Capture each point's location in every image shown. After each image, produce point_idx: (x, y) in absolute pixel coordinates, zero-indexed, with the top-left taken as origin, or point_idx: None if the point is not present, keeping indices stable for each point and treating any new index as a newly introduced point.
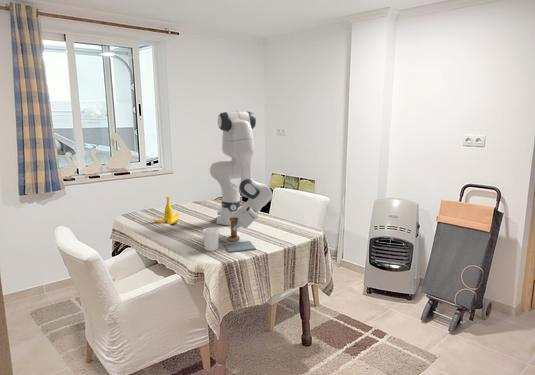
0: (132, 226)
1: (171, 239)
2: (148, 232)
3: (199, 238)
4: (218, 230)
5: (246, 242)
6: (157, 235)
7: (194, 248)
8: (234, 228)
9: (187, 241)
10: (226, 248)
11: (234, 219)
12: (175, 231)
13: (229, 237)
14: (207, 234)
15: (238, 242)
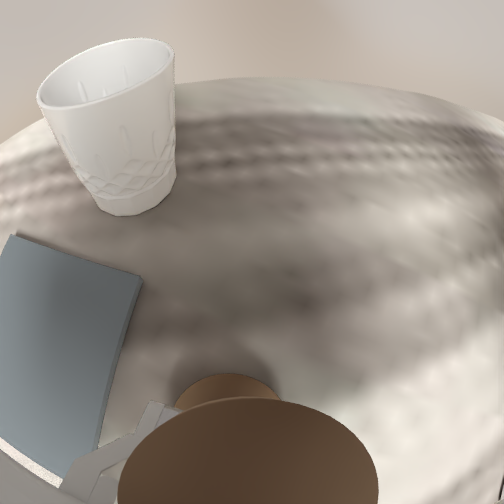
0: (498, 121)
1: (383, 111)
2: (460, 112)
3: (372, 200)
4: (39, 103)
5: (61, 446)
6: (433, 110)
7: (203, 119)
8: (145, 422)
9: (336, 135)
10: (61, 254)
11: (120, 478)
12: (478, 170)
13: (234, 382)
14: (87, 65)
15: (90, 395)
